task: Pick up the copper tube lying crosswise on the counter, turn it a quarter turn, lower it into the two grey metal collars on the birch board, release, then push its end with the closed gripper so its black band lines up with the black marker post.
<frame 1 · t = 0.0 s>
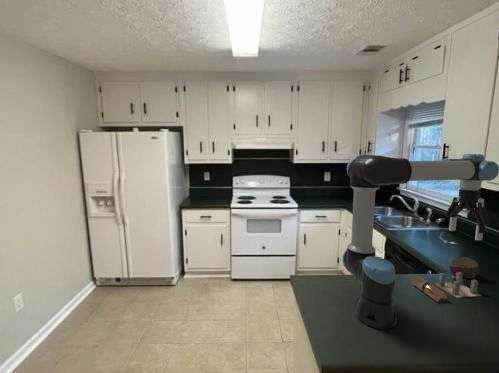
hand: (464, 235, 126), 28 cm above the worktop, fingers open, 13 cm apart
marker post: (452, 282, 137), resting on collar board
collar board: (456, 291, 131), on the worktop
tube: (427, 293, 129), on the worktop
rock: (463, 278, 144), on the worktop
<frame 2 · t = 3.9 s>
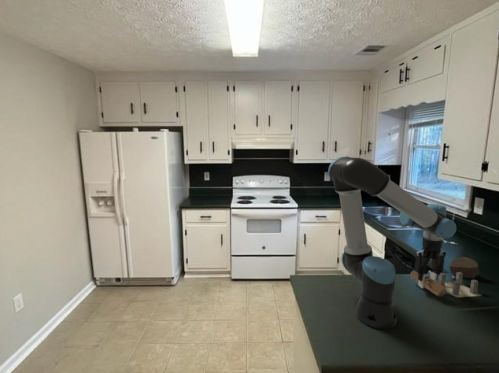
hand: (426, 286, 128), 4 cm above the worktop, fingers closed on tube, 5 cm apart
tube: (424, 287, 128), point 3 cm above the worktop, tilted 22°, touching gripper
everything else where it was.
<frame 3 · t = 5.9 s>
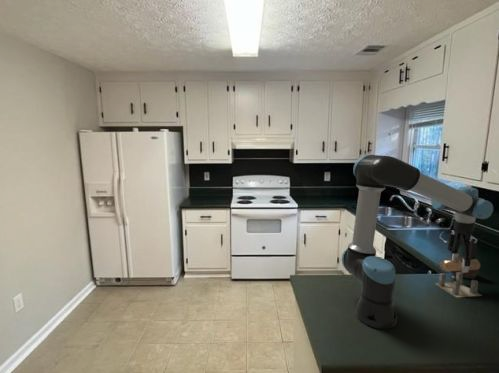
hand: (459, 269, 130), 11 cm above the worktop, fingers closed on tube, 5 cm apart
tube: (460, 270, 129), point 11 cm above the worktop, tilted 20°, touching gripper
everything else where it was.
when the fingers open (1 cm above the worktop, at t = 7.8 s): tube stays where it is, resting on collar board.
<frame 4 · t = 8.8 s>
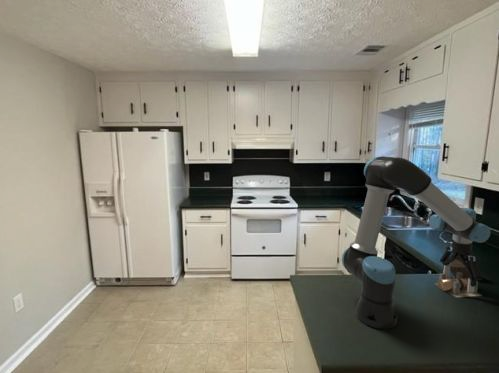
hand: (457, 284, 131), 3 cm above the worktop, fingers open, 13 cm apart
tube: (458, 289, 130), point 1 cm above the worktop, tilted 20°, touching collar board
everything else where it was.
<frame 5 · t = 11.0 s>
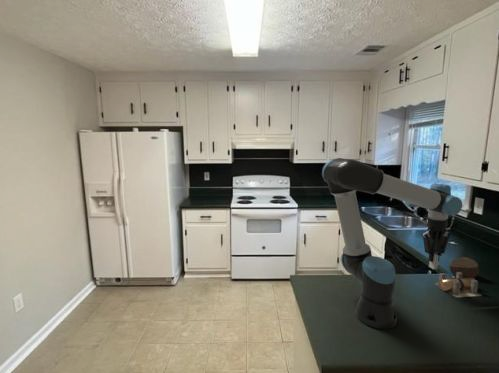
hand: (433, 267, 128), 12 cm above the worktop, fingers closed
nothing on the worktop moved.
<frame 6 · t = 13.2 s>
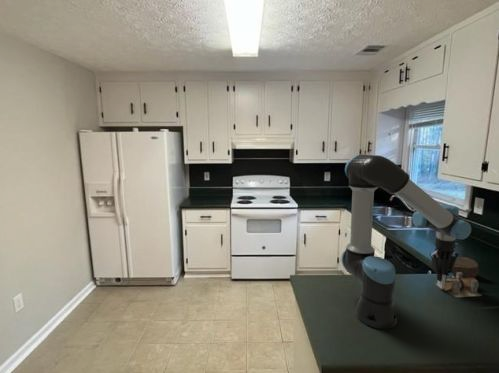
hand: (440, 286, 130), 3 cm above the worktop, fingers closed
tube: (459, 289, 130), point 1 cm above the worktop, tilted 21°, touching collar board, gripper
everything else where it was.
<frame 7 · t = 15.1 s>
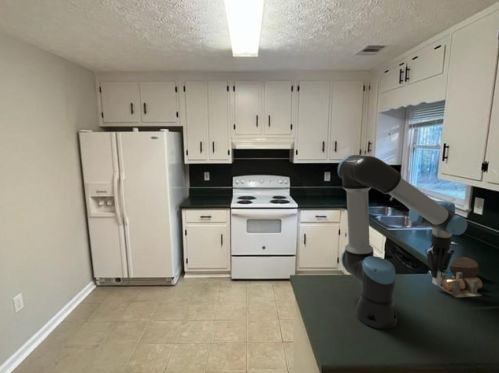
hand: (435, 283, 129), 4 cm above the worktop, fingers closed
tube: (462, 289, 130), point 1 cm above the worktop, tilted 19°, touching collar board
everything else where it was.
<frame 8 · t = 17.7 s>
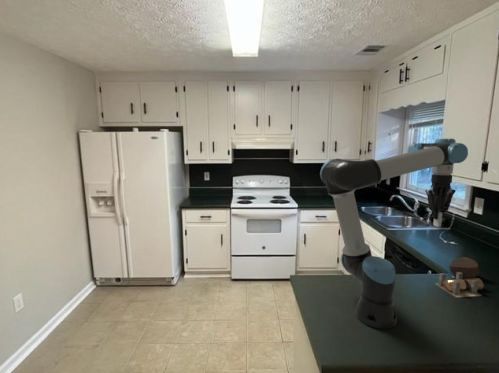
hand: (437, 226, 125), 32 cm above the worktop, fingers closed
tube: (462, 289, 130), point 1 cm above the worktop, tilted 5°, touching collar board
everything else where it was.
at the end: tube 1.3 cm from the target spot, point 1.1 cm above the worktop; the gripper is holding nothing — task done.
